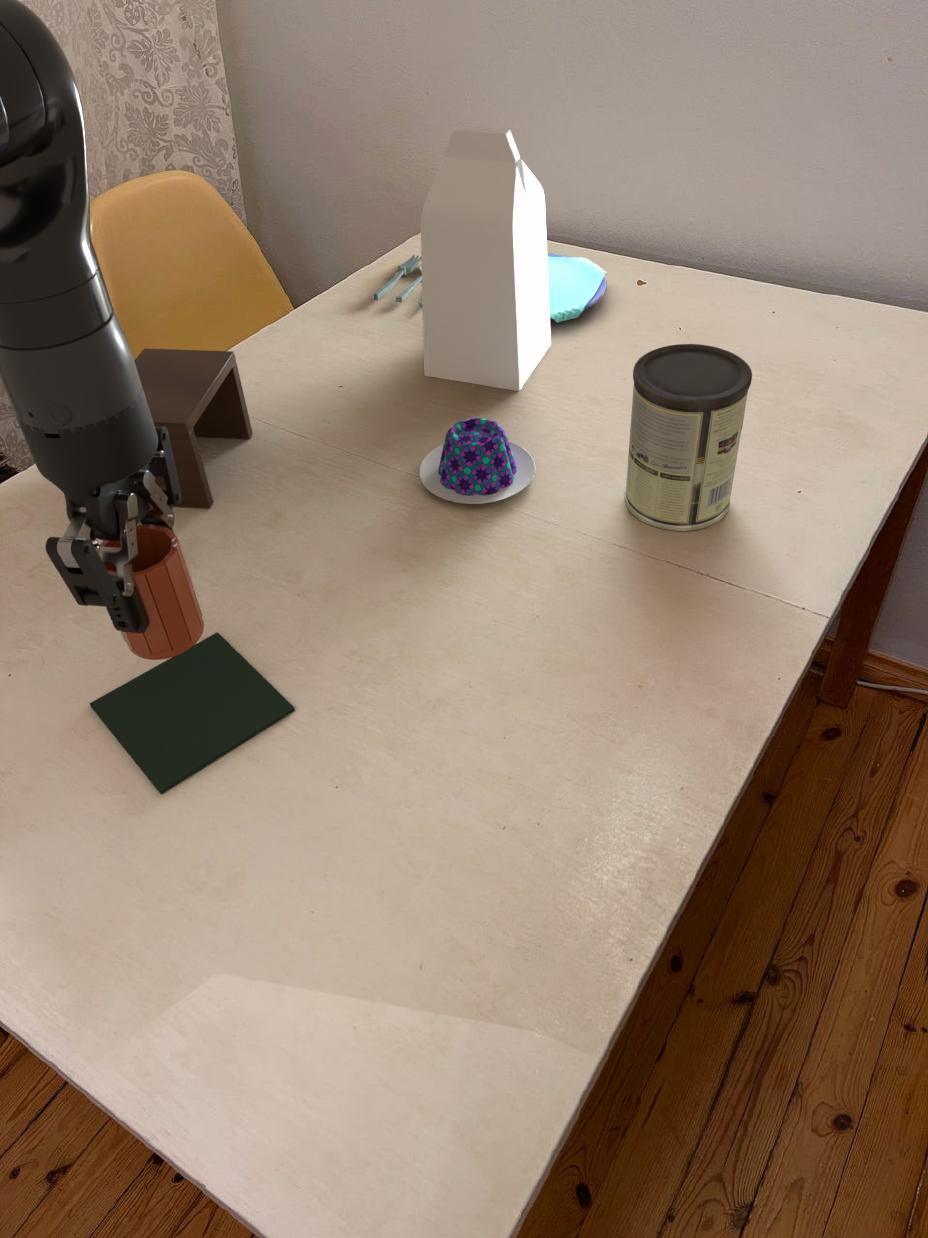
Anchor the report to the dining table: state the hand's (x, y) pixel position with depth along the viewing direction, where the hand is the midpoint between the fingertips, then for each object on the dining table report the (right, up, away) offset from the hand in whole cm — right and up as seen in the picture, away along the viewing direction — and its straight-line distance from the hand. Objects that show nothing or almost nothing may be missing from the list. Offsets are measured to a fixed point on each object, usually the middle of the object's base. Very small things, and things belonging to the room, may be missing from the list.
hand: (151, 597), depth 70 cm
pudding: (+24, +13, +30) cm, 41 cm away
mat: (+1, -9, +8) cm, 12 cm away
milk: (+25, +30, +48) cm, 62 cm away
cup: (0, -3, +2) cm, 4 cm away
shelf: (-7, +15, +34) cm, 37 cm away
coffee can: (+43, +10, +26) cm, 51 cm away
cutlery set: (+27, +42, +61) cm, 79 cm away
